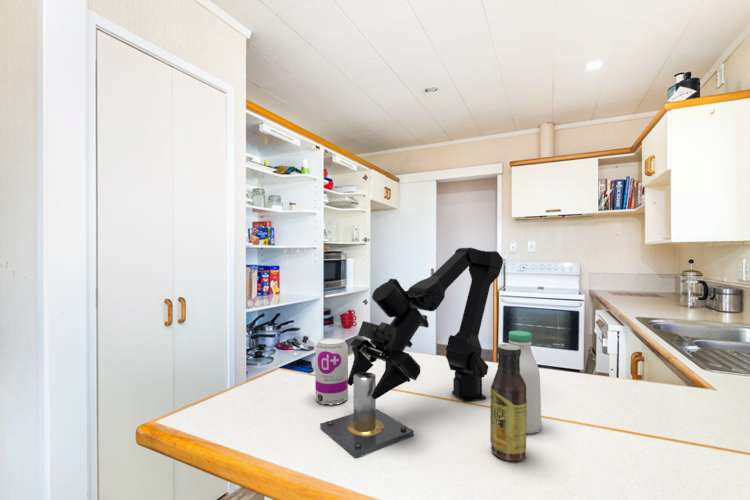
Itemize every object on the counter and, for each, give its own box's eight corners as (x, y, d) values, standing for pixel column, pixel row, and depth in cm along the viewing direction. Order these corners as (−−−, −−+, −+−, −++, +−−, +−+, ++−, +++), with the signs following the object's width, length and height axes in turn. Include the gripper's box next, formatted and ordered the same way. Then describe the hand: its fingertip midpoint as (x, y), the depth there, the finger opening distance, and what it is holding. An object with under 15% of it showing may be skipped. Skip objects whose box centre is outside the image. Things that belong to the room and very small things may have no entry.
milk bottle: (539, 421, 79) (537, 330, 79) (543, 437, 71) (541, 337, 72) (501, 416, 81) (500, 327, 82) (502, 431, 74) (501, 334, 74)
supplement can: (342, 407, 86) (342, 345, 86) (310, 405, 88) (310, 343, 88) (351, 394, 94) (351, 337, 94) (322, 392, 96) (321, 336, 96)
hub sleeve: (377, 422, 76) (377, 372, 76) (373, 433, 71) (373, 379, 71) (356, 421, 76) (356, 371, 77) (351, 431, 72) (351, 378, 72)
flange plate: (374, 411, 84) (374, 405, 84) (413, 435, 72) (413, 428, 72) (320, 428, 76) (320, 421, 76) (355, 458, 64) (355, 450, 64)
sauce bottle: (485, 445, 68) (483, 341, 69) (516, 444, 69) (515, 341, 69) (500, 465, 62) (498, 350, 62) (534, 463, 62) (532, 349, 63)
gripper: (357, 302, 84) (314, 357, 78) (409, 312, 69) (361, 381, 63) (384, 332, 89) (346, 386, 82) (438, 347, 74) (397, 414, 67)
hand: (360, 390), depth 73 cm, fingers open, 9 cm apart
